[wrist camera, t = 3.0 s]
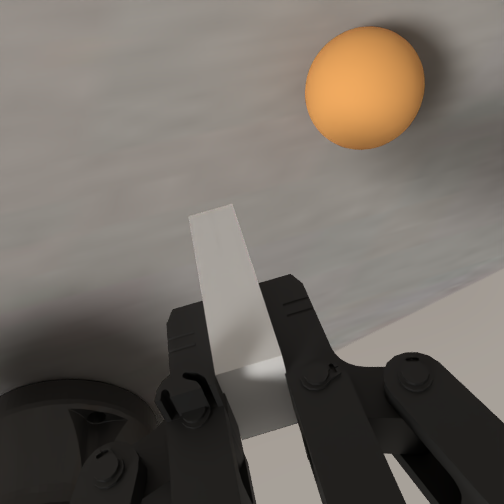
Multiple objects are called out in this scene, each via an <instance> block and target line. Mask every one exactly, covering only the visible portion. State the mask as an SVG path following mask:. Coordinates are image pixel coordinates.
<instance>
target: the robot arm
mask: <svg viewBox="0 0 504 504" xmlns="http://www.w3.org/2000/svg"><path fill="white" fill-rule="evenodd" d="M189 222H190V228H191V234H192V240H193V246H194V252H195V258H196V264H197V270H198V276H199V281H200V287H201V293H202V299H203V301H200V302H197V303H193V304H190V305H186V306H183V307H179V308H176V309H173V310H172V312H171V315H170V317H169V320H168V322H167V338H168V351H169V366H170V375H169V376H168V377H167V378H166V379H165V380H163V381H162V383H161V385H160V386H159V388H158V390H157V391H156V397H155V403H156V405H157V407H158V408H159V410H160V412H161V414H162V415H163V417H164V421H163V422H162V423H161V424H160V425H159V426H158V427H157V421H156V418H155V415H154V414H153V412H152V410H151V409H150V407H149V406H148V405H147V404H146V403H145V402H144V401H143V400H141V399H140V398H139V397H137V396H136V395H134V394H132V393H130V392H128V391H126V390H124V389H122V388H119V387H116V386H113V385H109V384H105V383H101V382H95V381H87V380H56V381H47V382H41V383H36V384H32V385H28V386H24V387H21V388H18V389H16V390H13V391H10V392H8V393H6V394H4V395H2V396H0V504H256V500H255V495H254V491H253V486H252V481H251V476H250V471H249V466H248V462H247V459H246V457H245V455H244V452H243V447H242V442H241V438H242V440H243V439H247V438H250V437H253V436H257V435H260V434H264V433H267V432H270V431H273V430H277V429H280V428H283V427H286V426H290V425H293V424H296V423H298V424H299V427H300V430H301V433H302V438H303V442H304V446H305V449H306V453H307V457H308V460H309V462H310V465H311V468H312V471H313V474H314V478H315V481H316V484H317V487H318V490H319V494H320V497H321V500H322V503H323V504H406V503H405V500H404V498H403V496H402V494H401V491H400V490H399V487H398V485H397V483H396V481H395V478H394V476H393V474H392V472H391V470H390V467H389V465H388V463H387V460H386V458H385V456H384V454H383V453H388V454H392V455H393V456H394V457H395V458H396V460H397V461H398V462H399V464H400V465H401V466H402V468H403V469H404V470H405V471H406V473H407V474H408V475H409V476H410V478H411V479H412V480H413V482H414V483H415V484H416V485H417V487H418V488H419V489H420V491H421V492H422V493H423V495H424V496H425V497H426V498H427V500H428V501H429V502H430V504H504V423H503V422H502V421H501V420H500V419H499V418H498V417H497V416H496V415H495V414H493V413H492V412H491V411H490V410H489V409H488V408H487V407H486V406H485V405H484V404H483V403H482V402H481V401H480V400H479V399H477V398H476V397H475V396H474V395H473V394H472V393H471V392H470V391H469V390H468V389H467V388H466V387H465V386H464V385H463V384H462V383H460V382H459V381H458V380H457V379H456V378H455V377H454V376H453V375H452V374H451V373H450V372H449V371H448V370H447V369H446V368H444V366H442V365H441V364H440V363H439V362H438V361H436V360H435V359H433V358H432V357H430V356H428V355H424V354H421V353H418V352H413V353H412V352H410V353H409V352H408V353H403V354H400V355H397V356H394V357H393V358H392V359H391V360H390V361H389V362H387V364H386V367H361V366H355V365H352V364H348V363H346V362H345V361H343V360H341V359H340V358H339V357H338V356H337V355H336V354H335V353H334V351H333V350H332V348H331V346H330V344H329V342H328V339H327V337H326V335H325V333H324V330H323V328H322V326H321V324H320V321H319V319H318V317H317V315H316V312H315V310H314V309H313V306H312V303H311V301H310V299H309V297H308V295H307V292H306V290H305V288H304V286H303V283H301V282H300V281H299V280H298V279H296V278H295V277H294V276H293V275H291V274H289V275H285V276H282V277H278V278H275V279H272V280H268V281H265V282H261V283H258V281H257V278H256V275H255V271H254V268H253V265H252V262H251V259H250V256H249V253H248V250H247V247H246V244H245V241H244V238H243V235H242V232H241V229H240V226H239V223H238V219H237V216H236V213H235V210H234V207H233V204H230V205H226V206H223V207H219V208H216V209H212V210H209V211H205V212H202V213H198V214H195V215H191V216H189ZM240 436H241V437H240Z"/></svg>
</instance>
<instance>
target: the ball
mask: <svg viewBox="0 0 504 504" xmlns="http://www.w3.org/2000/svg"><path fill="white" fill-rule="evenodd" d="M424 88H425V79H424V71H423V67H422V64H421V61H420V59H419V57H418V55H417V53H416V51H415V50H414V48H413V47H412V46H411V45H410V44H409V43H408V42H407V41H406V40H405V39H404V38H403V37H401V36H400V35H398V34H397V33H395V32H393V31H391V30H388V29H384V28H380V27H373V26H370V27H359V28H354V29H351V30H348V31H346V32H344V33H342V34H340V35H338V36H336V37H335V38H333V39H332V40H331V41H330V42H328V43H327V44H326V45H325V46H324V47H323V48H322V49H321V51H320V52H319V53H318V55H317V56H316V58H315V59H314V61H313V63H312V65H311V67H310V70H309V73H308V76H307V81H306V89H305V98H306V105H307V109H308V112H309V115H310V118H311V120H312V122H313V123H314V125H315V126H316V128H317V129H318V130H319V132H320V133H321V134H322V135H323V136H325V137H326V138H327V139H328V140H330V141H331V142H333V143H335V144H337V145H339V146H342V147H345V148H350V149H357V150H363V149H371V148H376V147H379V146H382V145H384V144H386V143H388V142H390V141H392V140H394V139H395V138H397V137H398V136H399V135H400V134H402V133H403V132H404V131H405V130H406V129H407V128H408V127H409V125H410V124H411V123H412V121H413V120H414V118H415V117H416V115H417V113H418V111H419V109H420V106H421V103H422V100H423V95H424Z"/></svg>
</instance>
